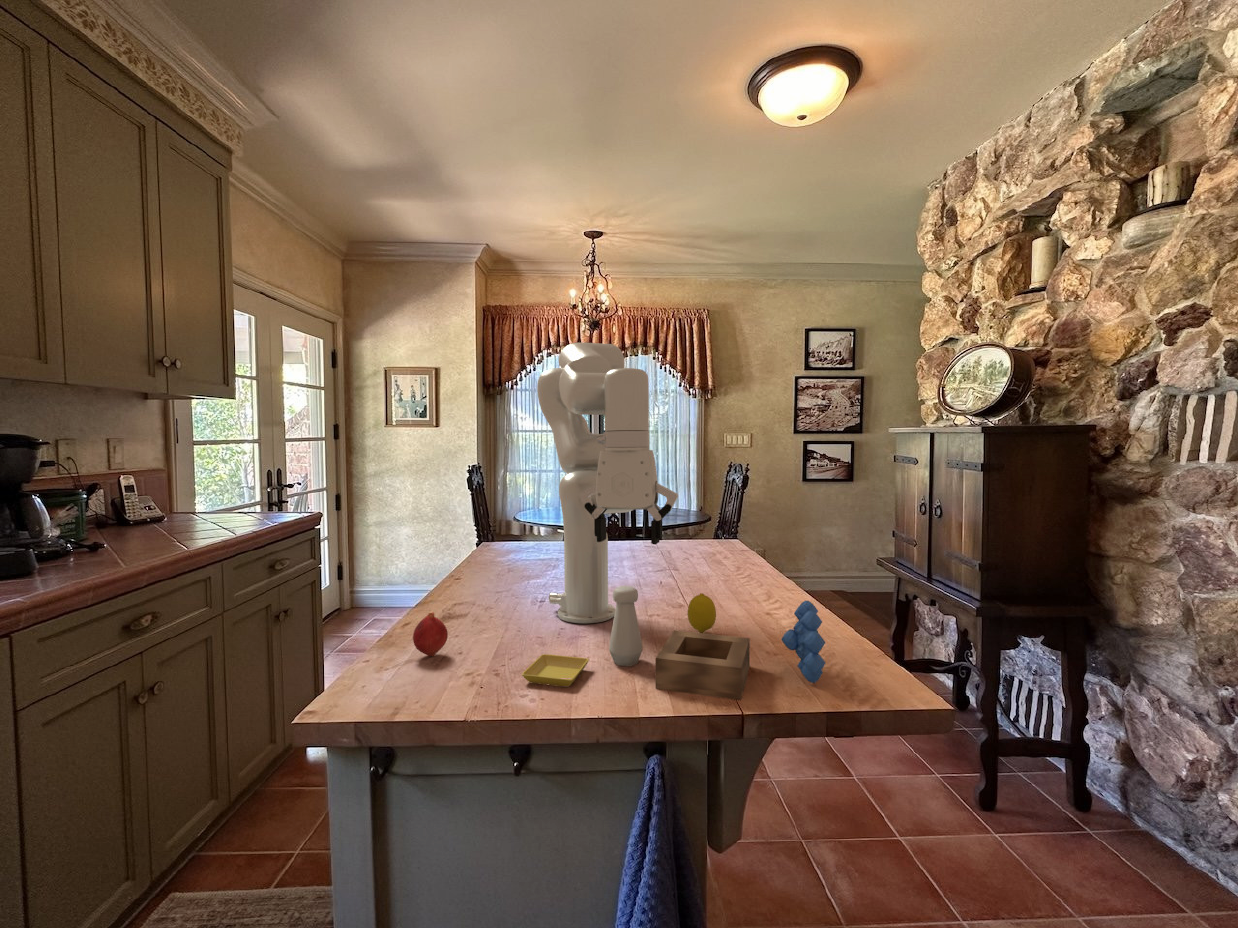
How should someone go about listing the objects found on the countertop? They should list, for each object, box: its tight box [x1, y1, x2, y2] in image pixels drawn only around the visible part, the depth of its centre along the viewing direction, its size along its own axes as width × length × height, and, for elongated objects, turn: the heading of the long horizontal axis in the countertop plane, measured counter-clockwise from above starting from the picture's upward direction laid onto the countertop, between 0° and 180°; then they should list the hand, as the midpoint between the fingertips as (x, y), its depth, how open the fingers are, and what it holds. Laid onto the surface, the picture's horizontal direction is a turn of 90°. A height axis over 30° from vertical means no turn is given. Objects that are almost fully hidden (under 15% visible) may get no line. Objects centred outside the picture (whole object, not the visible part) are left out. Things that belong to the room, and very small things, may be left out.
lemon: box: [687, 593, 717, 634], centre depth 111 cm, size 6×6×8 cm
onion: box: [412, 611, 449, 657], centre depth 101 cm, size 6×6×8 cm
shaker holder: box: [654, 630, 751, 701], centre depth 91 cm, size 13×13×5 cm
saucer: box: [521, 653, 590, 688], centre depth 92 cm, size 9×9×2 cm
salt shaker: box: [608, 585, 644, 667], centre depth 97 cm, size 6×6×13 cm
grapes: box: [780, 600, 826, 684], centre depth 91 cm, size 12×7×12 cm, turn 173°
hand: (628, 541), depth 97 cm, fingers open, 9 cm apart
